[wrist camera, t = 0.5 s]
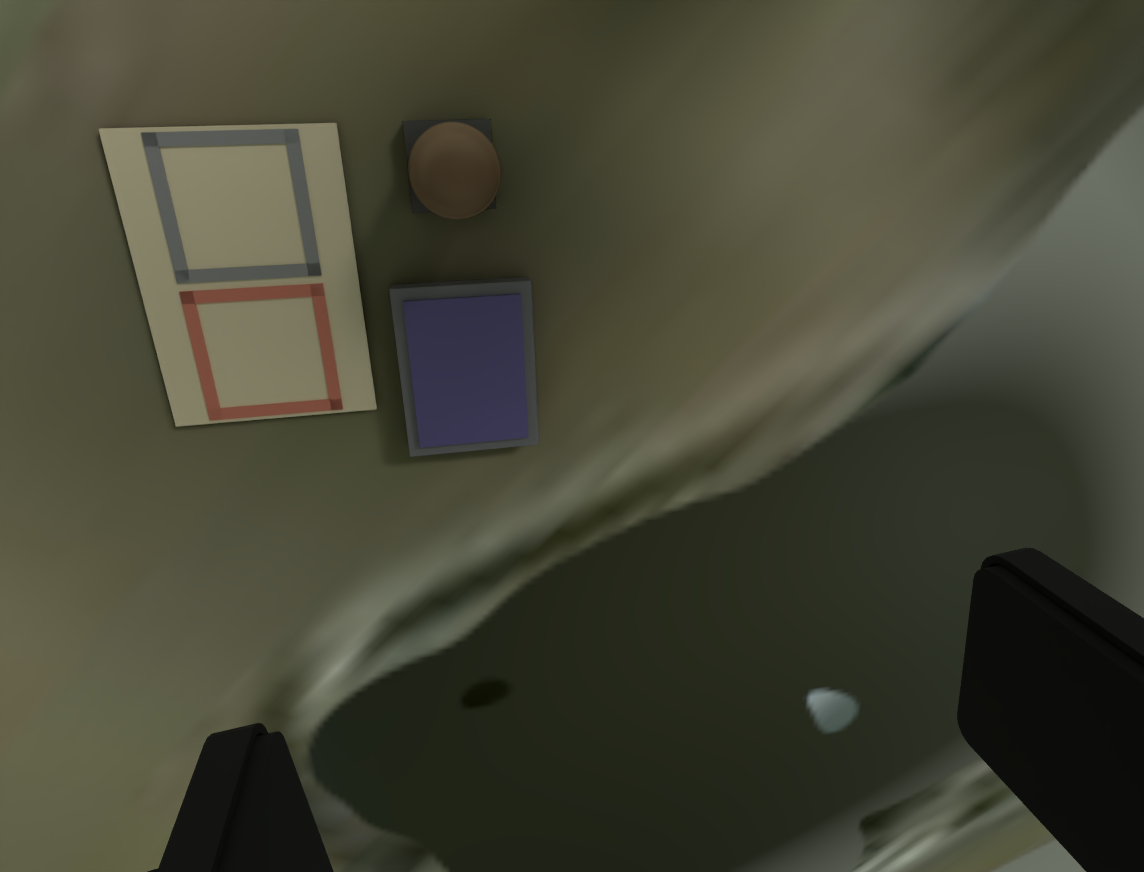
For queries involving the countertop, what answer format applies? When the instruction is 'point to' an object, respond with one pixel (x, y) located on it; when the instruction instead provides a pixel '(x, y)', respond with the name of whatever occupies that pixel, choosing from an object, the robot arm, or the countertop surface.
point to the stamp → (452, 166)
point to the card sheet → (245, 268)
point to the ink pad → (466, 364)
